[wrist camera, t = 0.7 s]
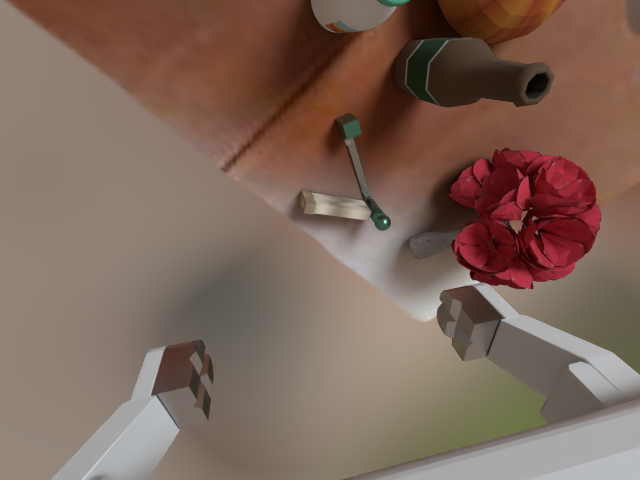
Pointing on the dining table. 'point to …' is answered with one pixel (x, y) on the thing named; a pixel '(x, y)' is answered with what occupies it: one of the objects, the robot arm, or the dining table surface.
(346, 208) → the grey rectangular bar
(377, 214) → the hinge post
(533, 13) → the pumpkin
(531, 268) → the bouquet
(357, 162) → the grey metal rod
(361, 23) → the milk bottle
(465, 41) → the beer bottle
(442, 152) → the dining table surface
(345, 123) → the dark green brushed box
